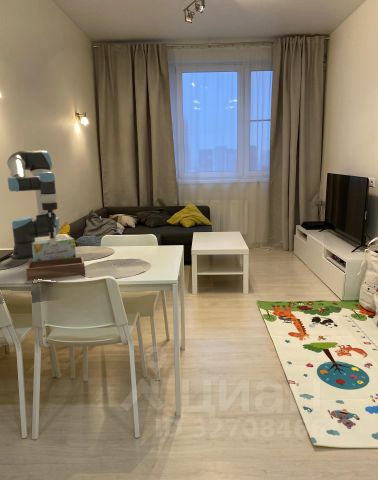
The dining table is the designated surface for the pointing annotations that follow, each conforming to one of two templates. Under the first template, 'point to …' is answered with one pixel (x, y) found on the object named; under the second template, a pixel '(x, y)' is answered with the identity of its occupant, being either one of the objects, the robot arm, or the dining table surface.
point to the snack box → (54, 249)
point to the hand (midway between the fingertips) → (53, 241)
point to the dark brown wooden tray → (55, 268)
